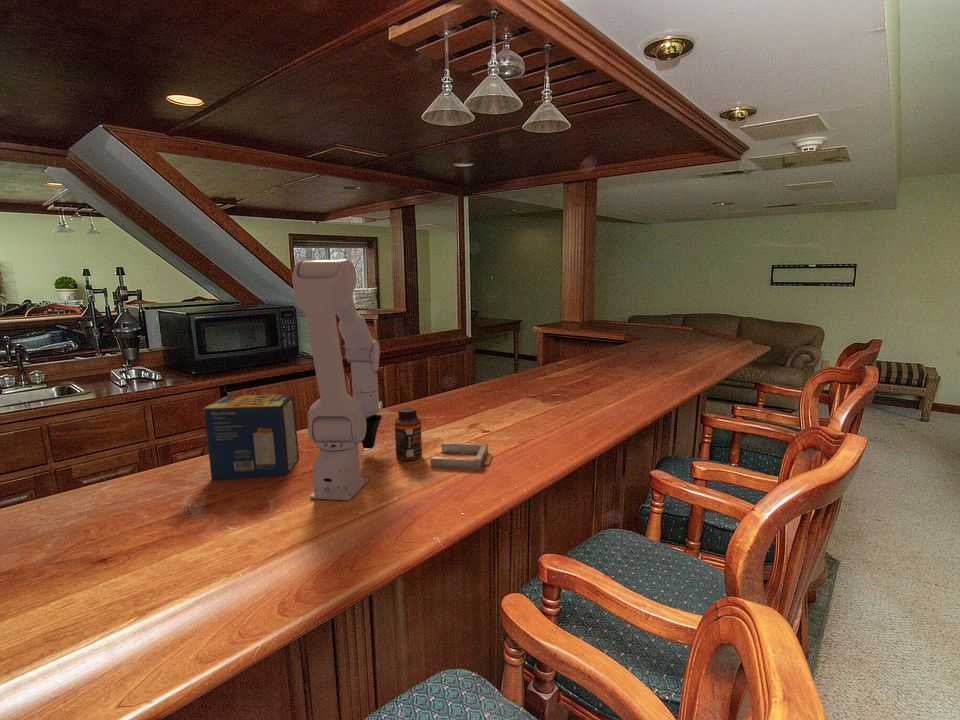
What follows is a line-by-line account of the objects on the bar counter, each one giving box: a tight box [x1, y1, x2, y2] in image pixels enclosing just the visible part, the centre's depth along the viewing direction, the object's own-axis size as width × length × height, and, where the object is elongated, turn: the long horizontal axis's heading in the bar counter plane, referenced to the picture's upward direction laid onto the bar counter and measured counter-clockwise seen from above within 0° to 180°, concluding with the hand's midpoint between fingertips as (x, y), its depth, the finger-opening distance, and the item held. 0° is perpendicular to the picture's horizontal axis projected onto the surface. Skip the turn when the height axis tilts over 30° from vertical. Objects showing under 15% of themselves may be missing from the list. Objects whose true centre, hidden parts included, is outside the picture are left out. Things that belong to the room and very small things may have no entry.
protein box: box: [202, 393, 300, 481], centre depth 107 cm, size 10×15×16 cm
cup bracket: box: [430, 441, 494, 471], centre depth 111 cm, size 11×12×2 cm
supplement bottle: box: [394, 407, 423, 462], centre depth 113 cm, size 6×6×11 cm
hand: (368, 447), depth 115 cm, fingers closed
